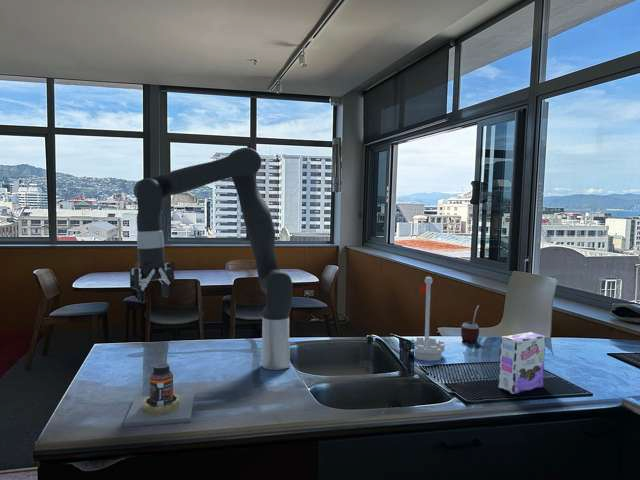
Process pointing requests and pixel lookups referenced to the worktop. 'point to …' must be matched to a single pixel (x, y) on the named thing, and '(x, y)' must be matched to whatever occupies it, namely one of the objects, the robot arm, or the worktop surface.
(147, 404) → the brass collar
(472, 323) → the mate gourd
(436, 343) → the flag stand
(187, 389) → the worktop surface
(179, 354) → the worktop surface
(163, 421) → the grey square plate
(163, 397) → the supplement bottle
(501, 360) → the candy box
